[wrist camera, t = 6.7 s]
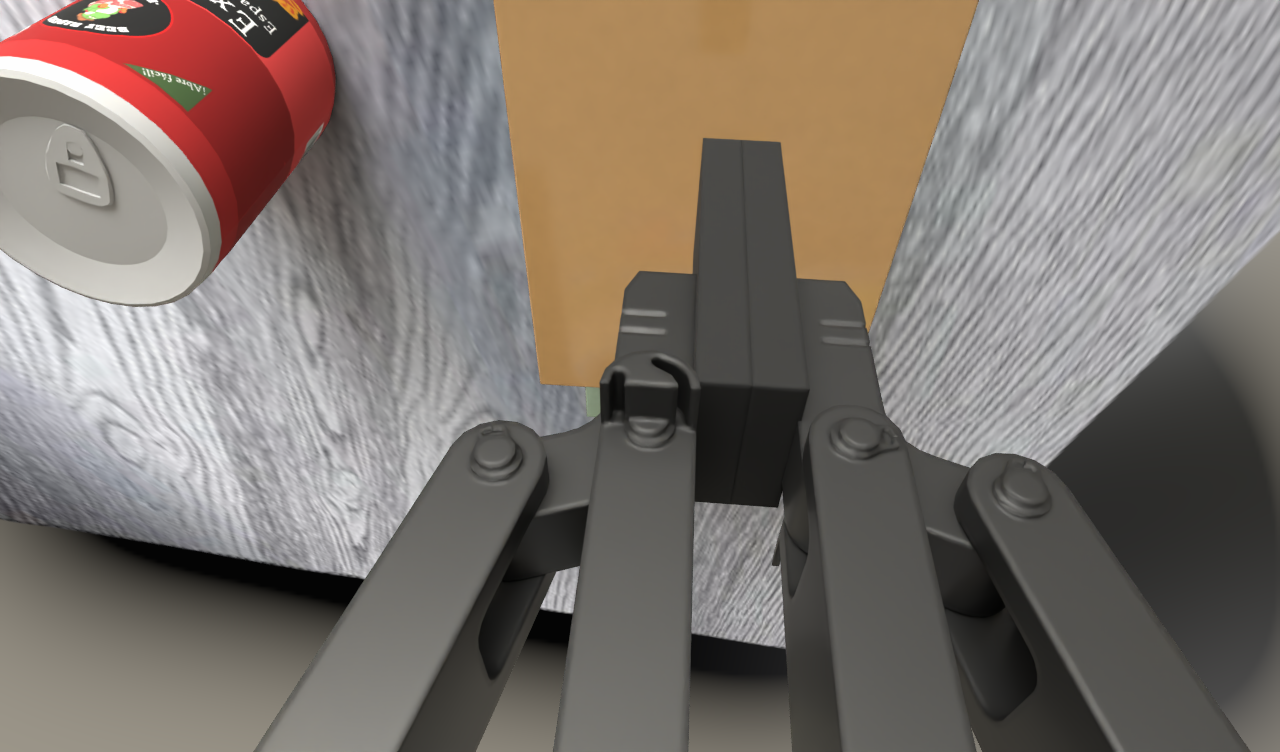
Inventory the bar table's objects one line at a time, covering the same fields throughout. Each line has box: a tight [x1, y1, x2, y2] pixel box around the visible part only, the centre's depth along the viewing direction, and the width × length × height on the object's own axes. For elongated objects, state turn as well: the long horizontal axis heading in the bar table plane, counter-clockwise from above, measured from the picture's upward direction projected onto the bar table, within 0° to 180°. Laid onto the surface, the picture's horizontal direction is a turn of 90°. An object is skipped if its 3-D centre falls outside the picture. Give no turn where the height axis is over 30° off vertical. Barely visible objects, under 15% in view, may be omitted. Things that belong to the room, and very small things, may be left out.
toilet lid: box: [493, 0, 979, 388], centre depth 22 cm, size 14×11×1 cm
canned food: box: [0, 0, 336, 307], centre depth 25 cm, size 8×8×11 cm
